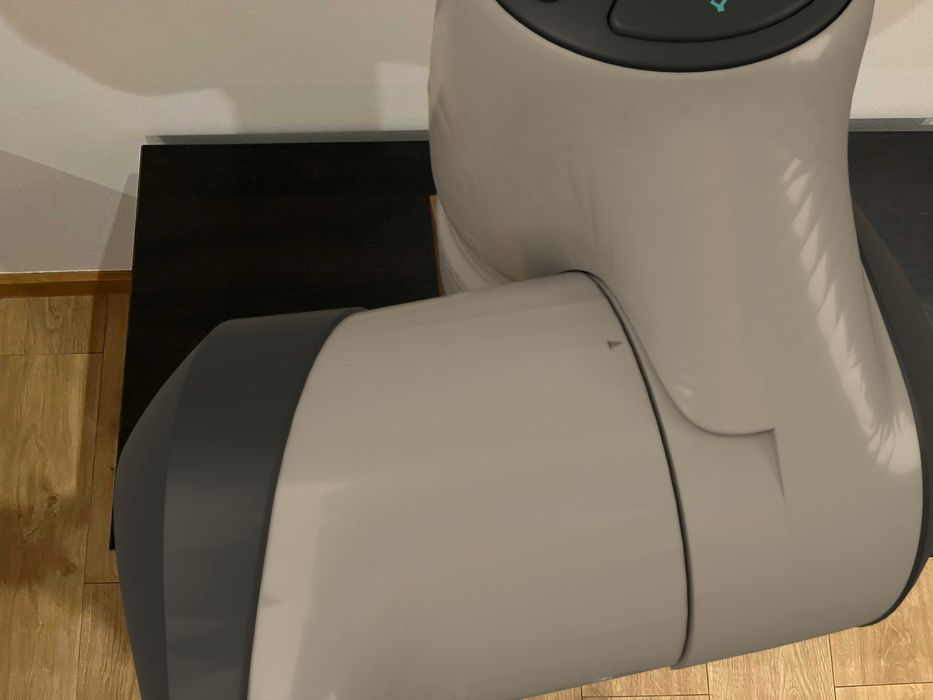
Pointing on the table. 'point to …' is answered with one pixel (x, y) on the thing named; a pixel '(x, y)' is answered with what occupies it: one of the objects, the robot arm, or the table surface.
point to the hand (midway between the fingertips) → (521, 333)
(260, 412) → the robot arm
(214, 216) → the table surface
